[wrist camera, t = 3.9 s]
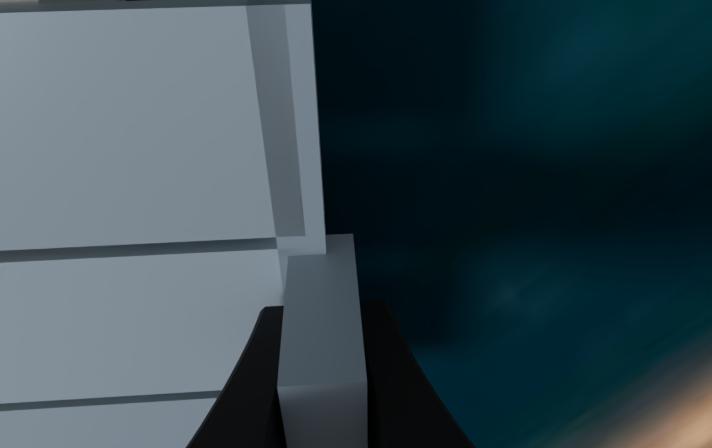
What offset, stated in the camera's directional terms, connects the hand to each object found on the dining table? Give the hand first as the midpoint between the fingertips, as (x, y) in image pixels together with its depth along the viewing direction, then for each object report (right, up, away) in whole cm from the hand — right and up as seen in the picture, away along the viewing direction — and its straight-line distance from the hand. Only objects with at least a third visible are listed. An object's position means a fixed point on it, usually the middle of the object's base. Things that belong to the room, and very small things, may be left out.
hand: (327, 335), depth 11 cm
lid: (-5, 0, +1) cm, 5 cm away
